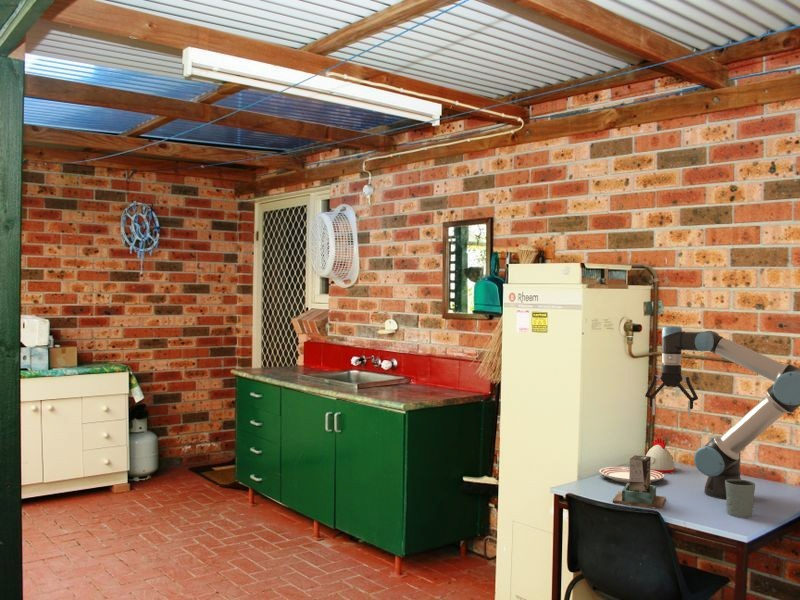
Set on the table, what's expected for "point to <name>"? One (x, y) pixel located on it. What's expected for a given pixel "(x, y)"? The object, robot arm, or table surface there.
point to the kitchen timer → (660, 458)
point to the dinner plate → (626, 474)
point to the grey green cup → (739, 497)
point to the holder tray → (639, 497)
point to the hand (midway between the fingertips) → (671, 416)
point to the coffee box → (640, 474)
